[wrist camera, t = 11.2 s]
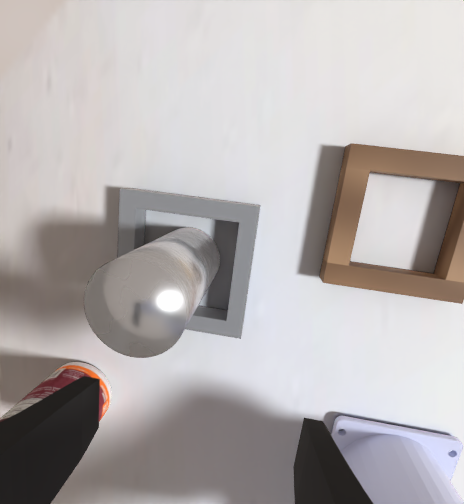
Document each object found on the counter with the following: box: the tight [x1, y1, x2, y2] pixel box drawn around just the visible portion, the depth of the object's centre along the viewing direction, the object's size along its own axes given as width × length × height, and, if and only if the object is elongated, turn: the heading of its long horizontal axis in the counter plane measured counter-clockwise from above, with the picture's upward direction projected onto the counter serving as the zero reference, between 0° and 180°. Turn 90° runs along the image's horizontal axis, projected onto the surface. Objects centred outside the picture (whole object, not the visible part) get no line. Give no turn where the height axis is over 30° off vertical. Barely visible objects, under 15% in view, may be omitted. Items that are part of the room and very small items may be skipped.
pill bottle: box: [0, 362, 112, 422], centre depth 18 cm, size 5×5×8 cm
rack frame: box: [117, 188, 260, 339], centre depth 18 cm, size 8×8×2 cm
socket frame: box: [319, 144, 464, 304], centre depth 16 cm, size 8×8×1 cm
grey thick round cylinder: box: [84, 227, 220, 358], centre depth 15 cm, size 4×4×8 cm
